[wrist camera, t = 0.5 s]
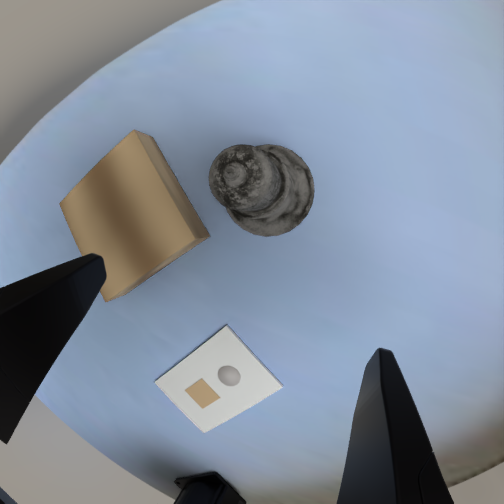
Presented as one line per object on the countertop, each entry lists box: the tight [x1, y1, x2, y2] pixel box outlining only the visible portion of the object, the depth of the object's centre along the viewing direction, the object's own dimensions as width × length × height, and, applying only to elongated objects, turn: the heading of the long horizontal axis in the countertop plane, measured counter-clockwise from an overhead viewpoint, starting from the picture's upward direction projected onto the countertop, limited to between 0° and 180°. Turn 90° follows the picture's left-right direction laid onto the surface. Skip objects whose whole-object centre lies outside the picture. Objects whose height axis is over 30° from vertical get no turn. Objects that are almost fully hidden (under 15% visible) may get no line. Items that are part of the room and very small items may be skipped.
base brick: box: [60, 130, 210, 302], centre depth 24 cm, size 10×10×3 cm
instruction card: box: [155, 325, 283, 433], centre depth 25 cm, size 10×7×1 cm
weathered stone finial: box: [209, 144, 314, 236], centre depth 17 cm, size 6×6×12 cm
